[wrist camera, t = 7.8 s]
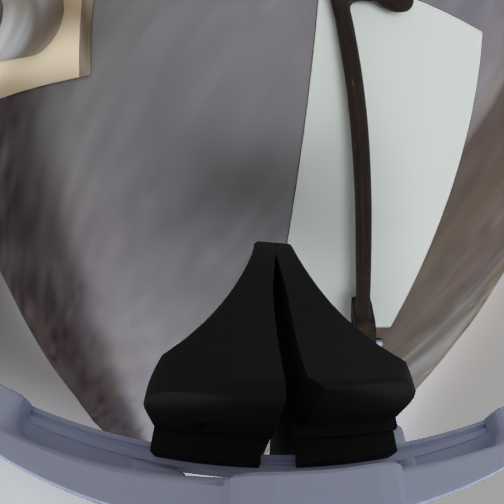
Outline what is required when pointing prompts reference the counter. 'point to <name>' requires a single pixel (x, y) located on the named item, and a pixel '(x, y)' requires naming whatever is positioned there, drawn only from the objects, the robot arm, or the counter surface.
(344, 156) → the tool mat
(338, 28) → the dark brown hooked rod
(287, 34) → the counter surface
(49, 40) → the cup on beige base
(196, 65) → the counter surface
